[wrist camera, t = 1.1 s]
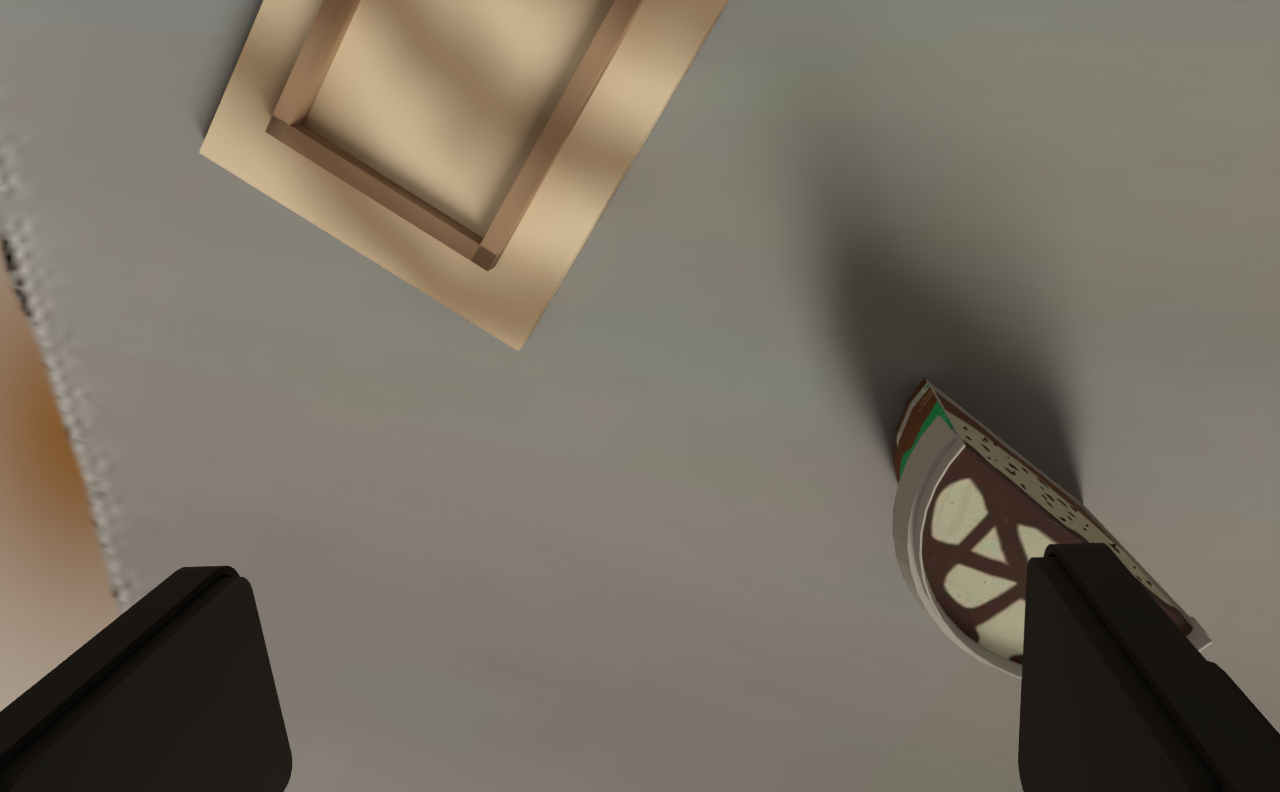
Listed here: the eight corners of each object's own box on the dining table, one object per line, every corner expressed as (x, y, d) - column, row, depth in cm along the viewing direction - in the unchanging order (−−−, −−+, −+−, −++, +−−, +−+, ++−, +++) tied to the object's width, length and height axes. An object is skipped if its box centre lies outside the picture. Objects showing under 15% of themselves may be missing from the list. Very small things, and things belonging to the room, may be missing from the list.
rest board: (403, -295, 33) (380, -323, 31) (760, -54, 34) (762, -65, 32) (212, 152, 39) (182, 153, 37) (523, 345, 40) (511, 358, 38)
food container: (805, 459, 40) (826, 563, 31) (898, 357, 38) (952, 434, 29) (1008, 616, 42) (1089, 762, 32) (1108, 524, 40) (1225, 651, 30)
